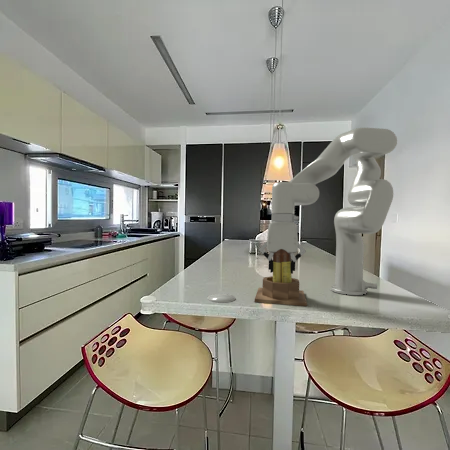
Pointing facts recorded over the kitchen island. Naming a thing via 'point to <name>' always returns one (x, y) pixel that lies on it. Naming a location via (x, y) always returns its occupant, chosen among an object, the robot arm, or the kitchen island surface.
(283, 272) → the sauce bottle
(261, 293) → the holder
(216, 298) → the coaster
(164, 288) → the kitchen island surface
